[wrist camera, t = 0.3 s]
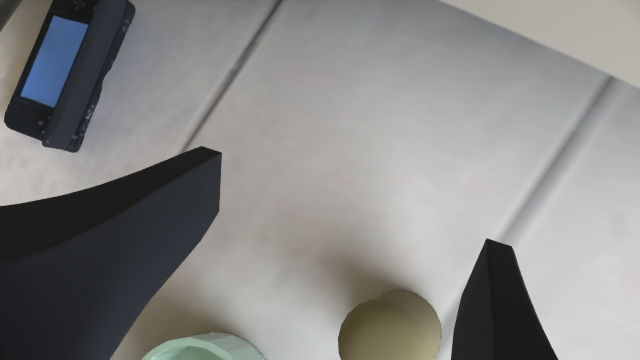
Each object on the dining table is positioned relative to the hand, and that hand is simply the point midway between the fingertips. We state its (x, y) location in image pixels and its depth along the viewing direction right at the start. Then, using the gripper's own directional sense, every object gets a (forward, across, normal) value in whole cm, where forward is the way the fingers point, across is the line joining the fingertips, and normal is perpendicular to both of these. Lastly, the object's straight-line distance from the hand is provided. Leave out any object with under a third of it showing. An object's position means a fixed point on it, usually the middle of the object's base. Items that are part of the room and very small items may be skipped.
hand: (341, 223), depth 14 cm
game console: (+30, +32, +17) cm, 47 cm away
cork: (+18, -3, +23) cm, 29 cm away
